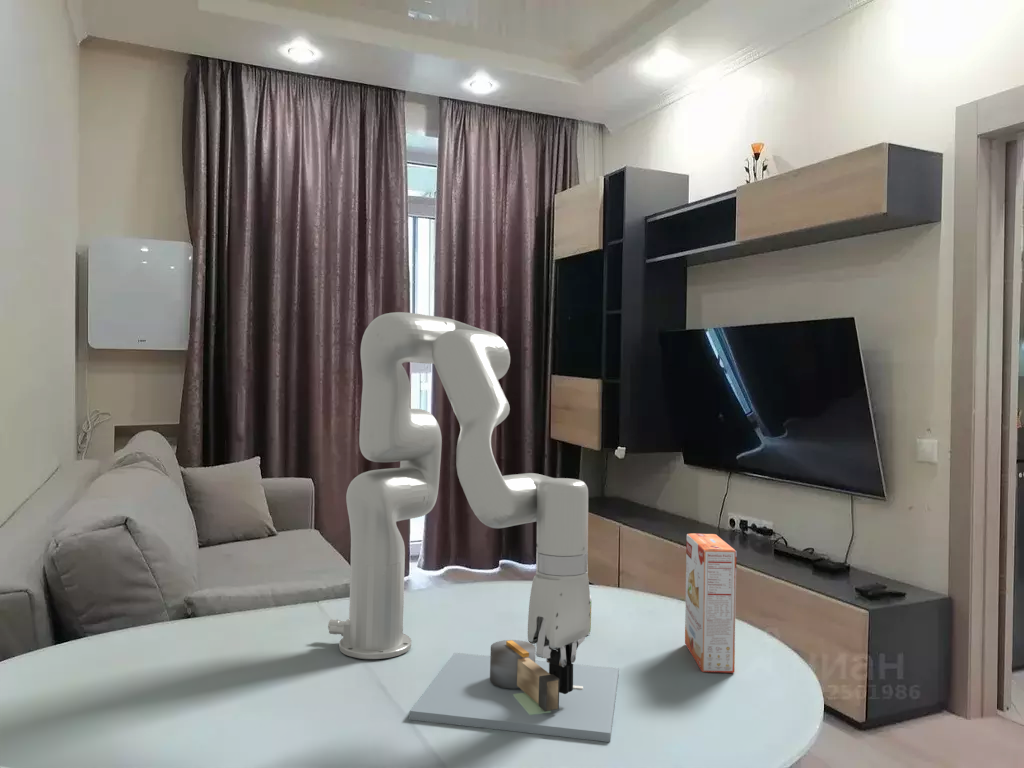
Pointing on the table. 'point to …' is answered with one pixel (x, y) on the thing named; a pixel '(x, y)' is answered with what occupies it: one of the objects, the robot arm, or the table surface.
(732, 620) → the cracker box
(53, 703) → the table surface
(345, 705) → the table surface
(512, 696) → the board
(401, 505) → the robot arm
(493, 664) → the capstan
